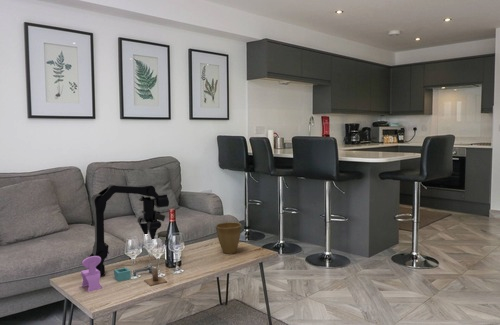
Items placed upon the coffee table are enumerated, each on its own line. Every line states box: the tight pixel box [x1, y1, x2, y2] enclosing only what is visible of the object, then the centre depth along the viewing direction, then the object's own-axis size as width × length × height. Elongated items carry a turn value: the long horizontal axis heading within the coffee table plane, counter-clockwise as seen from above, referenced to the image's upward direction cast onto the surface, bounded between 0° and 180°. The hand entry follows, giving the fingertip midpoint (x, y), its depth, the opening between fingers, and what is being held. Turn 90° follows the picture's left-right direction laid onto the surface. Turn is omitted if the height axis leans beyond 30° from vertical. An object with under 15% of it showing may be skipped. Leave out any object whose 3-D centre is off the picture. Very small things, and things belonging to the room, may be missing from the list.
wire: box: [132, 266, 155, 277], centre depth 198 cm, size 9×7×2 cm
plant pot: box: [215, 221, 242, 254], centre depth 236 cm, size 15×15×16 cm
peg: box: [143, 268, 168, 287], centre depth 190 cm, size 8×8×6 cm
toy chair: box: [80, 256, 103, 293], centre depth 184 cm, size 8×9×15 cm
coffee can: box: [156, 230, 168, 261], centre depth 227 cm, size 10×10×14 cm
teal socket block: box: [113, 266, 132, 283], centre depth 195 cm, size 6×6×4 cm
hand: (149, 238), depth 214 cm, fingers open, 9 cm apart
